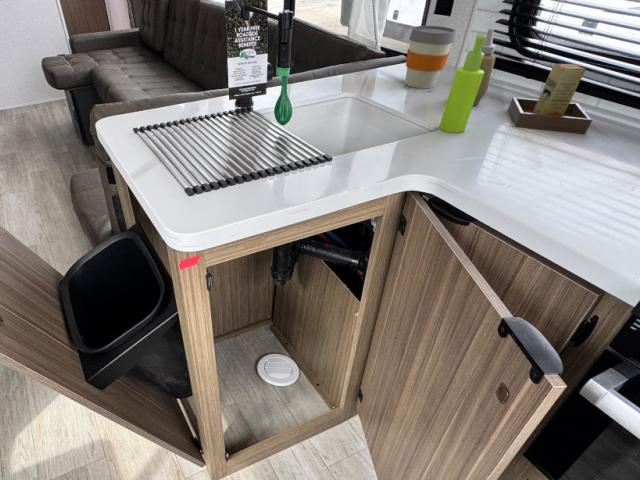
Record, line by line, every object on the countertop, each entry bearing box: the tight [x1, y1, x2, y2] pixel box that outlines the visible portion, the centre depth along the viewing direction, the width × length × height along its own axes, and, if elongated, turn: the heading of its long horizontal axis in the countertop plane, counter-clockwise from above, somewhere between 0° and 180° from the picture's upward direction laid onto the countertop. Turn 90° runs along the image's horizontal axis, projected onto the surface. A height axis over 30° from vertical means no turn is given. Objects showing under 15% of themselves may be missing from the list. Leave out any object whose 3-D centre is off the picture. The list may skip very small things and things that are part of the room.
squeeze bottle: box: [473, 28, 496, 106], centre depth 117 cm, size 8×8×18 cm
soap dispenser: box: [439, 33, 486, 134], centre depth 101 cm, size 6×7×20 cm
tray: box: [507, 96, 593, 135], centre depth 111 cm, size 16×14×3 cm
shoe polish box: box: [533, 63, 586, 116], centre depth 107 cm, size 5×5×12 cm
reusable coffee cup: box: [404, 25, 457, 89], centre depth 132 cm, size 13×13×15 cm
